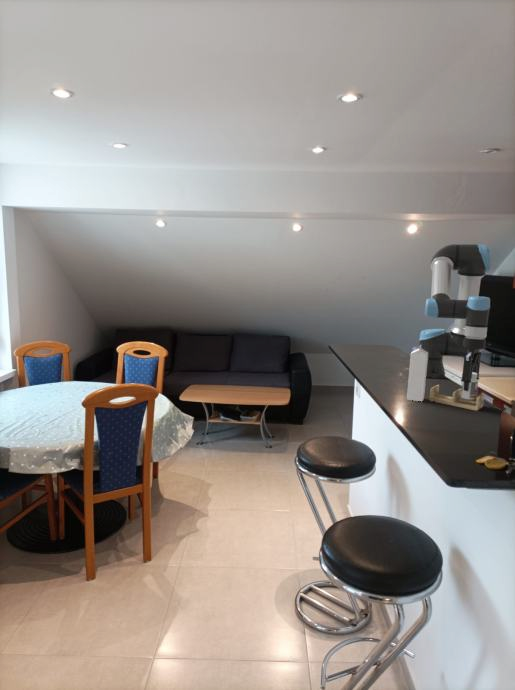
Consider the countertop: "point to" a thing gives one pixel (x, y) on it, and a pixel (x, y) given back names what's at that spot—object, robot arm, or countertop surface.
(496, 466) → the countertop surface
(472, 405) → the rack
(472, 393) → the pill bottle
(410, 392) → the milk
